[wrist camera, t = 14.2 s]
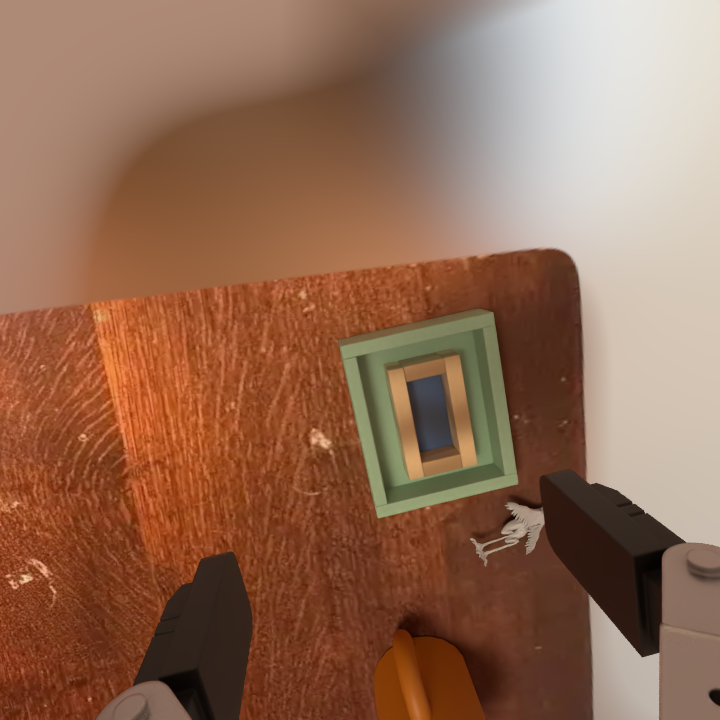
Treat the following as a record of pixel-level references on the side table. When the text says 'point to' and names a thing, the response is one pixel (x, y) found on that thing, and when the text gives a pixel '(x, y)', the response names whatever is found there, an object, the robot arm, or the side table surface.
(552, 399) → the side table surface
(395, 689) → the mug
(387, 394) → the holder
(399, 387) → the frame
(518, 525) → the figurine
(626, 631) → the robot arm
